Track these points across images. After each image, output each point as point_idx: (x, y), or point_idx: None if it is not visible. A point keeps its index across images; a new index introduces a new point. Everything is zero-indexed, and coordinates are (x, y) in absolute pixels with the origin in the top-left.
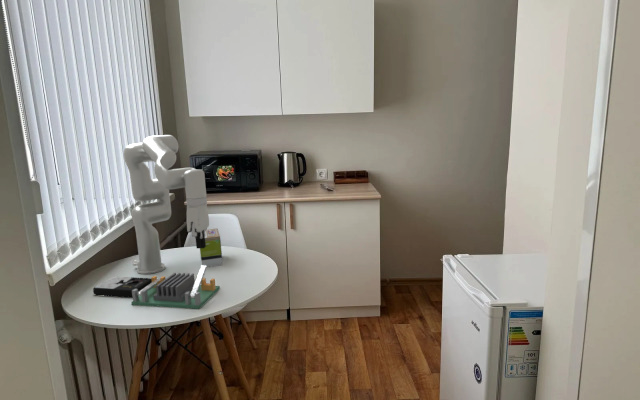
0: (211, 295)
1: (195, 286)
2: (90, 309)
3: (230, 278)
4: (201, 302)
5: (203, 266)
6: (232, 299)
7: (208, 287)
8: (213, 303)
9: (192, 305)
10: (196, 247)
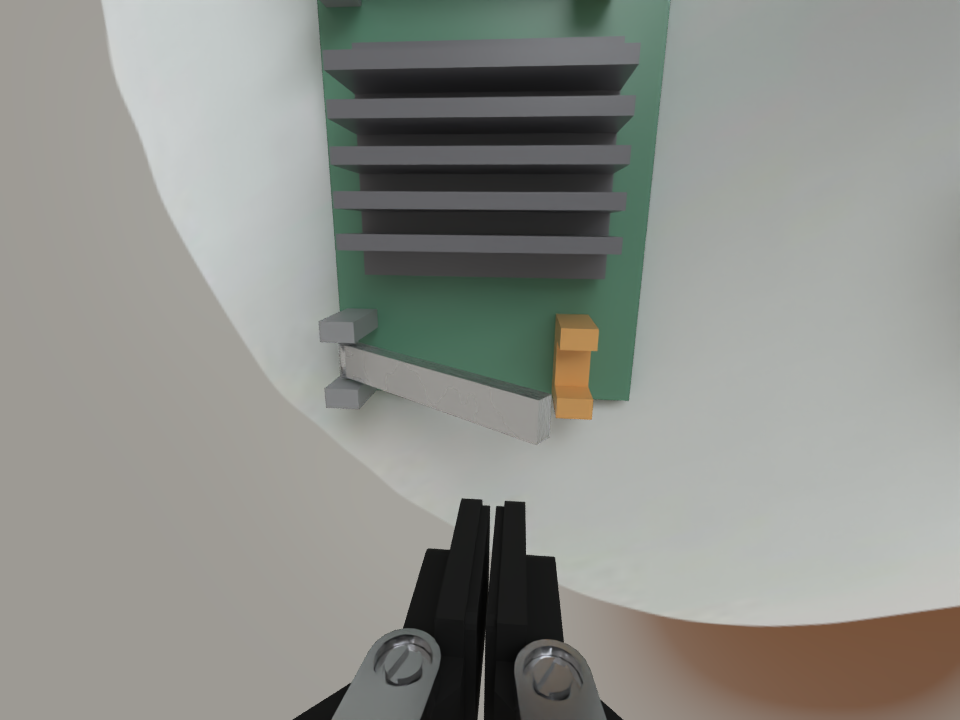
0: None
1: (387, 371)
2: None
3: (800, 403)
4: None
5: (526, 420)
6: None
7: (554, 366)
8: (425, 430)
9: None
10: (462, 499)
